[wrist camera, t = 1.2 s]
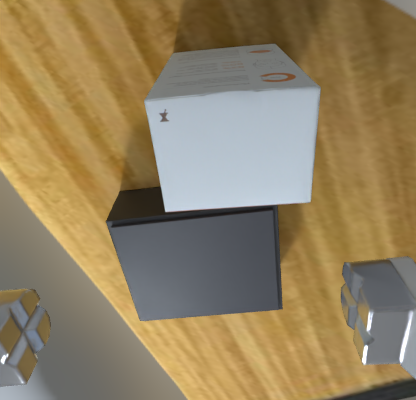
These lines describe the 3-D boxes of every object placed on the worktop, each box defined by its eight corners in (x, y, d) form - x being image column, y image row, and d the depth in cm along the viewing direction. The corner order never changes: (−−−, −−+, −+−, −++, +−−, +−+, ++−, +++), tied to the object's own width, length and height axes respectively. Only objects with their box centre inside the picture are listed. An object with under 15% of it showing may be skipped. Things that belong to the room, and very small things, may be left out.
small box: (181, 131, 31) (161, 215, 19) (171, 51, 27) (139, 97, 16) (277, 123, 30) (313, 205, 19) (277, 42, 27) (322, 82, 16)
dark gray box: (269, 174, 32) (278, 205, 28) (275, 273, 39) (283, 312, 34) (119, 191, 34) (104, 224, 29) (148, 284, 40) (139, 324, 35)
